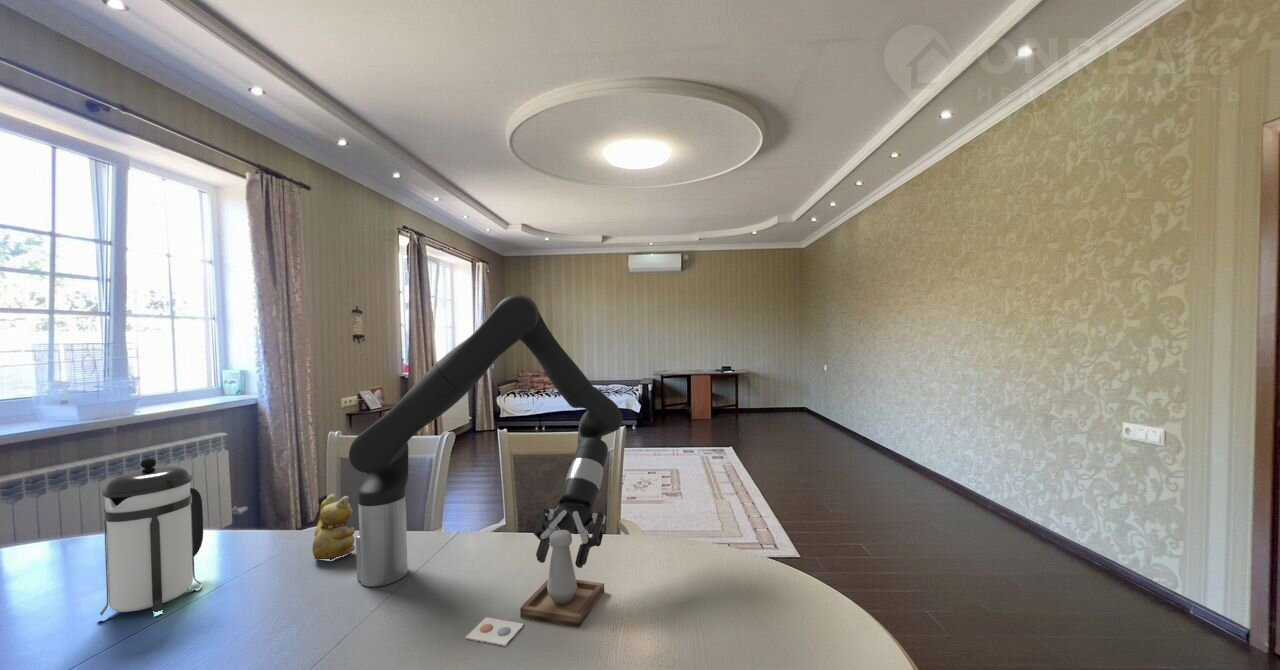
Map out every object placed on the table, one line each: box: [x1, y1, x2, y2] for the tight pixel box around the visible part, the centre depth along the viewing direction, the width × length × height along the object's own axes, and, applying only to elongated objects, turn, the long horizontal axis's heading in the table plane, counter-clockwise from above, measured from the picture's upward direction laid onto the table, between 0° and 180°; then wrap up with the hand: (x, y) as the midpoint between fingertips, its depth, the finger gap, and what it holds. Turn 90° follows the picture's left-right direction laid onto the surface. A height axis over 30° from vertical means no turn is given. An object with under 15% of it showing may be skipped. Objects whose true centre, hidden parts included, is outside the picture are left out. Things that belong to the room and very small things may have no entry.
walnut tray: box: [519, 579, 605, 628], centre depth 93 cm, size 12×12×2 cm
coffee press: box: [99, 457, 204, 616], centre depth 99 cm, size 17×16×30 cm
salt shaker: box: [547, 530, 577, 605], centre depth 93 cm, size 6×6×13 cm
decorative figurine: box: [312, 493, 356, 561], centre depth 116 cm, size 10×8×15 cm
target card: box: [464, 617, 525, 647], centre depth 85 cm, size 8×6×1 cm
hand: (559, 563), depth 91 cm, fingers open, 7 cm apart
